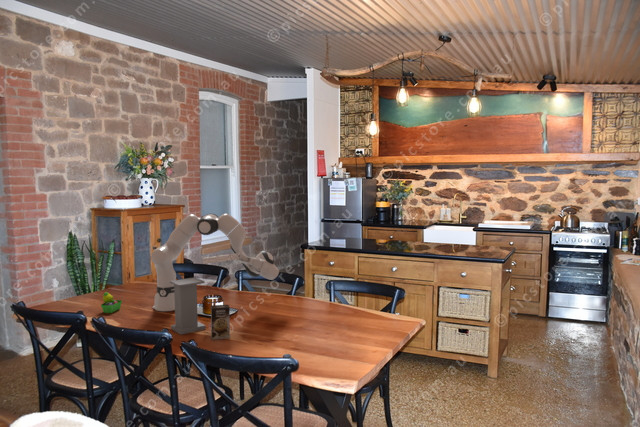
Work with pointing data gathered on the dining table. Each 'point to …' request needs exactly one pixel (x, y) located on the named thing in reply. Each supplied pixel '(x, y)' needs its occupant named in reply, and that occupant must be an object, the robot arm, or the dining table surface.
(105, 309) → the fruit basket
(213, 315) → the coffee box
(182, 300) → the shelf stand
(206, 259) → the beige wooden bar
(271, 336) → the dining table surface
